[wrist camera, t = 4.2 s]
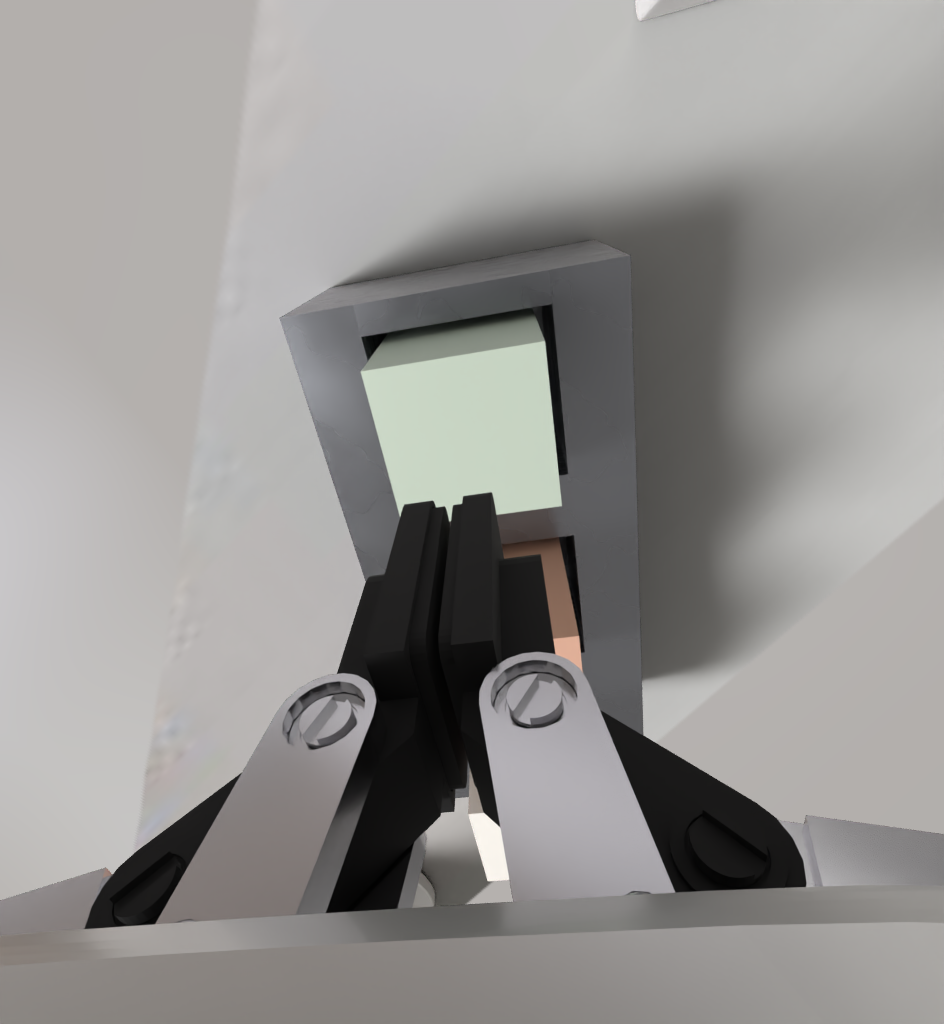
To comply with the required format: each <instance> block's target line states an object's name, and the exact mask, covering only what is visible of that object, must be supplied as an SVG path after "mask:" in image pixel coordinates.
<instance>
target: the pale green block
mask: <svg viewBox="0 0 944 1024" xmlns="http://www.w3.org/2000/svg"><path fill="white" fill-rule="evenodd" d="M361 375H362V379H363V382H364V386H365V390H366V393H367V397H368V401H369V405H370V408H371V412H372V416H373V419H374V423H375V427H376V430H377V434H378V438H379V442H380V445H381V449H382V453H383V456H384V460H385V464H386V467H387V471H388V475H389V478H390V482H391V486H392V490H393V493H394V497H395V501H396V504H397V508H398V512H399V515H400V516H401V512H402V509H403V506H404V504H411V503H418V502H425V501H432V500H433V501H434V503H435V505H436V507H443V506H445V507H446V510H447V513H448V518H449V521H451V517H452V508H453V505H457V504H462V500H463V496H468V495H475V494H482V493H489V492H492V494H493V498H494V504H495V509H496V515H499V514H506V513H514V512H521V511H529V510H536V509H544V508H551V507H559V506H562V501H561V492H560V482H559V472H558V463H557V453H556V443H555V433H554V424H553V414H552V404H551V395H550V385H549V375H548V365H547V356H546V346H545V340H544V337H543V335H542V332H541V330H540V327H539V324H538V322H537V319H536V317H535V314H534V312H533V309H532V308H526V309H520V310H514V311H508V312H503V313H497V314H491V315H485V316H479V317H474V318H468V319H462V320H456V321H450V322H445V323H439V324H433V325H427V326H421V327H416V328H410V329H404V330H398V331H392V332H389V333H388V334H387V336H386V337H385V338H384V340H383V341H382V343H381V344H380V345H379V347H378V348H377V350H376V351H375V352H374V354H373V355H372V356H371V358H370V359H369V361H368V362H367V363H366V365H365V366H364V368H363V369H362V370H361Z"/></svg>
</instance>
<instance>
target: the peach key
mask: <svg viewBox="0 0 944 1024" xmlns="http://www.w3.org/2000/svg"><path fill="white" fill-rule="evenodd" d="M502 549H503V555H504V559H506V558H513V557H521V556H529V555H537V554H541V559H542V566H543V572H544V579H545V586H546V593H547V600H548V606H549V613H550V620H551V627H552V633H553V640H554V647H555V654H556V655H558V656H561V657H563V658H566V659H568V660H570V661H571V662H572V663H574V664H575V665H576V666H577V667H579V668H580V669H581V671H582V661H581V651H580V641H579V633H578V629H577V624H576V619H575V614H574V609H573V604H572V600H571V595H570V590H569V585H568V580H567V575H566V570H565V566H564V561H563V556H562V551H561V546H560V541H559V537H556V538H548V539H540V540H532V541H525V542H517V543H509V544H502ZM582 672H583V671H582Z"/></svg>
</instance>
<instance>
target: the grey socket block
mask: <svg viewBox="0 0 944 1024" xmlns="http://www.w3.org/2000/svg"><path fill="white" fill-rule="evenodd" d="M526 308H532V309H533V312H534V314H535V317H536V319H537V322H538V324H539V327H540V330H541V332H542V335H543V337H544V340H545V346H546V356H547V365H548V375H549V385H550V395H551V404H552V414H553V424H554V433H555V443H556V453H557V463H558V472H559V482H560V492H561V501H562V506H559V507H551V508H544V509H536V510H529V511H521V512H514V513H506V514H499V515H497V521H498V527H499V532H500V538H501V544H509V543H517V542H525V541H532V540H540V539H548V538H556V537H559V541H560V546H561V551H562V556H563V561H564V566H565V570H566V575H567V580H568V585H569V590H570V595H571V600H572V604H573V609H574V614H575V619H576V624H577V629H578V633H579V641H580V651H581V661H582V671H583V674H584V675H585V677H586V679H587V680H588V683H589V685H590V687H591V690H592V692H593V695H594V697H595V699H596V702H597V704H598V707H599V709H600V710H601V711H603V712H605V713H606V714H608V715H610V716H611V717H613V718H615V719H616V720H618V721H620V722H621V723H623V724H625V725H626V726H628V727H630V728H631V729H633V730H635V731H637V732H638V733H640V734H642V735H643V705H642V667H641V629H640V591H639V554H638V516H637V478H636V440H635V402H634V364H633V326H632V288H631V255H629V254H627V253H624V252H622V251H620V250H617V249H615V248H613V247H610V246H608V245H606V244H603V243H601V242H599V241H596V240H588V241H583V242H577V243H572V244H567V245H561V246H556V247H550V248H545V249H539V250H534V251H528V252H523V253H517V254H512V255H506V256H501V257H496V258H490V259H485V260H479V261H474V262H468V263H463V264H457V265H452V266H446V267H441V268H436V269H430V270H425V271H419V272H414V273H408V274H403V275H397V276H392V277H386V278H381V279H376V280H370V281H365V282H359V283H354V284H348V285H343V286H337V287H332V288H329V289H328V290H326V291H324V292H323V293H321V294H319V295H317V296H316V297H314V298H312V299H311V300H309V301H307V302H306V303H304V304H302V305H301V306H299V307H297V308H296V309H294V310H292V311H291V312H289V313H287V314H286V315H284V316H282V317H280V321H281V324H282V327H283V330H284V333H285V336H286V340H287V343H288V346H289V349H290V352H291V355H292V358H293V361H294V364H295V367H296V370H297V373H298V376H299V379H300V382H301V385H302V388H303V391H304V394H305V398H306V401H307V404H308V407H309V410H310V413H311V416H312V419H313V422H314V425H315V428H316V431H317V434H318V437H319V440H320V443H321V446H322V449H323V452H324V456H325V459H326V462H327V465H328V468H329V471H330V474H331V477H332V480H333V483H334V486H335V489H336V492H337V495H338V498H339V501H340V504H341V507H342V510H343V514H344V517H345V520H346V523H347V526H348V529H349V532H350V535H351V538H352V541H353V544H354V547H355V550H356V553H357V556H358V559H359V562H360V565H361V568H362V572H363V575H364V578H365V581H367V579H368V577H370V576H374V575H381V574H385V571H386V568H387V564H388V560H389V557H390V553H391V549H392V546H393V542H394V538H395V535H396V531H397V527H398V523H399V520H400V515H399V512H398V508H397V504H396V501H395V497H394V493H393V490H392V486H391V482H390V478H389V475H388V471H387V467H386V464H385V460H384V456H383V453H382V449H381V445H380V442H379V438H378V434H377V430H376V427H375V423H374V419H373V416H372V412H371V408H370V405H369V401H368V397H367V393H366V390H365V386H364V382H363V379H362V375H361V370H362V369H363V368H364V366H365V365H366V363H367V362H368V361H369V359H370V358H371V356H372V355H373V354H374V352H375V351H376V350H377V348H378V347H379V345H380V344H381V343H382V341H383V340H384V338H385V337H386V336H387V334H388V333H389V332H392V331H398V330H404V329H410V328H416V327H421V326H427V325H433V324H439V323H445V322H450V321H456V320H462V319H468V318H474V317H479V316H485V315H491V314H497V313H503V312H508V311H514V310H520V309H526ZM449 522H450V526H451V521H449ZM469 777H470V767H469V763H468V769H467V785H466V788H463V789H455V798H462V797H469Z"/></svg>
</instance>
